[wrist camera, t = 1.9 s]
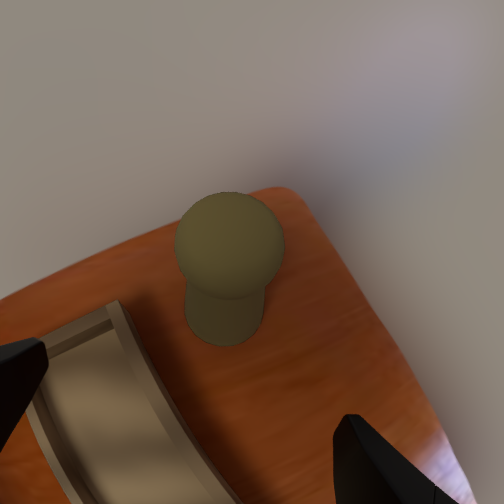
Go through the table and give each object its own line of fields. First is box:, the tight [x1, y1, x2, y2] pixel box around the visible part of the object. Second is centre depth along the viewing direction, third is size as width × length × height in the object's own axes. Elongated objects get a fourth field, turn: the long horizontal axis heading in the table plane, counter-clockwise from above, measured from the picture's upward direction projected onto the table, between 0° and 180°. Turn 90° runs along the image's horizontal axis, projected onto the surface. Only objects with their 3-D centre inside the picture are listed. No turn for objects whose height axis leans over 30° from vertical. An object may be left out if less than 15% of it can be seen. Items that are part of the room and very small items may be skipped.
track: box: [26, 299, 244, 504], centre depth 14 cm, size 20×10×3 cm, turn 32°
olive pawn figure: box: [174, 192, 285, 346], centre depth 17 cm, size 6×6×11 cm
